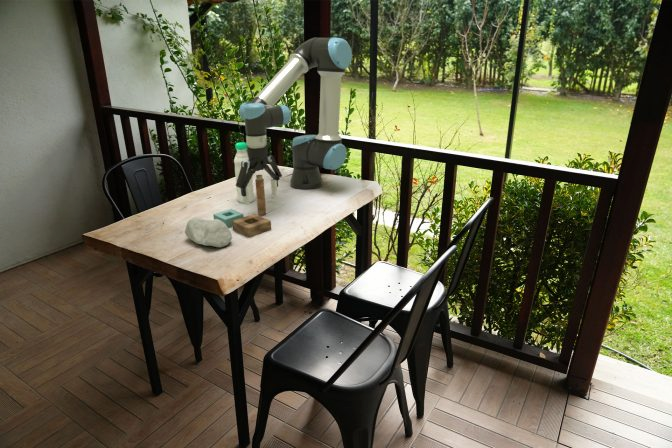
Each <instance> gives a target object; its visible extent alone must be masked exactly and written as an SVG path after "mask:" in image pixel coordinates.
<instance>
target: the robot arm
mask: <svg viewBox="0 0 672 448" xmlns="http://www.w3.org/2000/svg"><path fill="white" fill-rule="evenodd" d="M352 52H353V51H352V48H351V46H350V44H349V43H348V41H347V40H346V39H344V38H342V37H341V38H340V37H312V38H310V39H308V40H306V41H304V42H303V43H302V44H301V45H299V46H298V47H297V48H295V50H294V51H293V52H291V54H290V55H289V60H288V61H286V63H285V64H284V65H283V67H282V68H281V69H280V70H279V71H278V72H277V73H276V74H275V75H274V76H273V77H272V79H270V80H269V82H267V84H266V85H265V86H264V87H263V88H262V89H261V91H260V90H259V92H258V94H257V95H256V96H255V97H254V98H253V99H252V100H251V101H250V102H249V101H246V102H243V103H241V105H239V109H238V110H239V111H238V113H239V114H238V115H239V117H240V119H241V120H243V121H244V127H245V140H246V142H245V143H247V150H246V151H247V154H248V158H249V160H248V162H244V161H242V162H241V169H240V173H239V176H238V179H237V182H236V181H235V183H236V184H235V187H236V188H237V187H239V188H241V195H242V196H243V201H244V203H243V204H245V205H248V206H249V205H250V202H249V193H248V188H246V187H247V185H248V183H249V181H250V179H251V178H252V177H253V176H254V174H256V172H259V171H263V170H264V171H265V172H266V173H267V174H268V175H269V176H270V177H271V178H270V186H271V188H270V189H271V195H272V196H275V197H278V187H279V181H280V179H281V178H282V176H283V175H282V172H281V171H280V168H279V167H278V164H277V162H276V159H275V156H273V155H271V154H268V146H267V145H268V141H267V140H268V138H267V129H270V128H275V127H282V126H284V125H285V126H286V125H288V124H289V123H290V121H291V119H292V118H291V116H292V115H291V109H290V108H289V107H288V106H287V105H284V104H281V105H280V104H277V105H276V103H277V102H278V101H279V100H280V99H281V98H282V96H283V95H285V94H286V93H287V91H288V90H289V89H290V88H291V87H292V85H294V84H295V82H296V81H297V80H298V79H299V78H300V77H301V75H303V74H306V73H307V72H309V70H310V69H312V68H317V69H316V70H317V73H318V75H320V91H319V94H320V95H319V97H320V98H319V115H318V116H319V118H318V121H319V123H318V134H304V135H300V136H295V137H293V139H292V146H291V148H292V150H291V151H292V162H293V163H292V164H293V170H292V172H291V173H292V174H291V178H290V183H289V184H290V185H289V186H290V187H292V188H293V189H299V190H312V189H313V190H314V189H317V188H319V187H322V186H323V178H322V175H321V172H320V169H319V168H322V169H323V168H324V169H326V170H337V169H339V168H340V167H342V165H343V164H344V163H345V161H346V158H347V148H346V146H345V145H344V144H342V136H340V133H339V132H340V131H339V129H340V108H341V92H342V89H341V87H342V77H343V76H344V75H345V74H346V69H347V68H349V67H350V65H351V63H352V60H353V53H352ZM268 163H269V164H270V165H269V164H268ZM248 165H249V166H248ZM270 166H271V167H270ZM248 167H249V168H248ZM247 169H248V171H247ZM251 169H252V170H251ZM246 172H247V173H246Z"/></svg>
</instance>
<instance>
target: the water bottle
mask: <svg viewBox="0 0 672 448" xmlns="http://www.w3.org/2000/svg"><path fill="white" fill-rule="evenodd" d="M234 145H235V150H236V154H235V156H234V160H233V163H234V174H235V175H234V176H235V183H236V182H237V179H238V176H239V173H240V169H241V162H242V161H244V162H248V160H249V158H248V154H247V147H248V146H247V143H246V142H245V141H243V142H240V141H239V142H236V144H234ZM248 166H249V165H248ZM248 168H249V167H248ZM251 170H253V169H251ZM247 171H248V169H247ZM246 173H247V172H246ZM253 181H254V179H253V176H252V178H251V179H250V181H249V183H248V185H247V187H246V188H248V193H249V203H252V202H254V201H255V194H254V183H253ZM236 192H237V196H236V197H237V201H238V202H239V203H241V204H245V203H244V201H243V196H242V195H241V188H239V187H236Z"/></svg>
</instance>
